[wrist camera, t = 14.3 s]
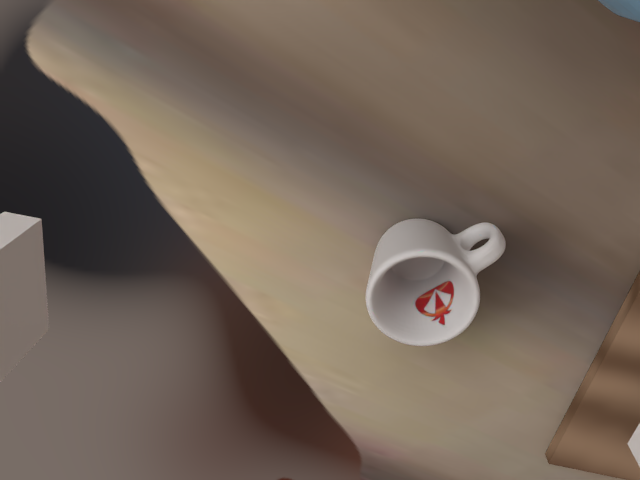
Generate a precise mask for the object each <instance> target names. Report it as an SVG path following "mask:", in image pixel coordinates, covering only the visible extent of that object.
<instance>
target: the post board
mask: <svg viewBox="0 0 640 480" xmlns="http://www.w3.org/2000/svg"><path fill="white" fill-rule="evenodd" d="M639 423H640V272H639V273H638V275H637V277H636V279H635V281H634V283H633V285H632V287H631V289H630V291H629V293H628V295H627V297H626V299H625V301H624V302H623V304H622V306H621V308H620V310H619V312H618V314H617V316H616V318H615V320H614V322H613V324H612V326H611V328H610V330H609V331H608V333H607V335H606V337H605V339H604V341H603V343H602V345H601V347H600V349H599V351H598V353H597V355H596V357H595V358H594V360H593V362H592V364H591V366H590V368H589V370H588V372H587V374H586V376H585V378H584V380H583V382H582V384H581V386H580V387H579V389H578V391H577V393H576V395H575V397H574V399H573V401H572V403H571V405H570V407H569V409H568V411H567V413H566V415H565V416H564V418H563V420H562V422H561V424H560V426H559V428H558V430H557V432H556V434H555V436H554V438H553V440H552V442H551V444H550V445H549V447H548V449H547V451H546V453H545V455H546V457H547V460H548V463H549V464H553V465H558V466H563V467H568V468H573V469H578V470H582V471H587V472H592V473H597V474H602V475H607V476H612V477H616V478H621V479H626V480H640V467H639V465H638V463H637V461H636V459H635V457H634V455H633V454H632V452H631V450H630V448H629V446H628V444H627V443H628V442H629V440H630V438H631V437H632V435H633V433H634V432H635V430H636V428H637V427H638V425H639Z"/></svg>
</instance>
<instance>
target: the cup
mask: <svg viewBox="0 0 640 480" xmlns="http://www.w3.org/2000/svg"><path fill="white" fill-rule="evenodd" d="M487 238H489V241H488V242H487V243H486V244H484V245H483V246H482V247H480V248H478V249H475V250H472V251H470V249H471V247H472V246H473V245H474V244H476V243H477V242H479V241H481V240H483V239H487ZM505 247H506V242H505V238H504V236H503V234H502V233H501V231H500V230H499V229H498V228H497V227H496V226H495V225H494V224H491V223H487V222H484V223H479V224H476V225H473V226H471V227H469V228H467V229H466V230H464V231H462V232H461V233H458V234H455V235H454V234H451V233H450V232H449V231H448V230H447V229H445V228H444V227H443V226H441V225H440V224H438V223H436V222H434V221H431V220H427V219H418V218H417V219H408V220H404V221H401V222H399V223H397V224H395V225H394V226H392V227H391V228H389V229H388V230H387V231H386V232H385V233H384V235H383V236H382V237H381V239H380V241H379V243H378V245H377V247H376V251H375V254H374V259H373V263H372V267H371V272H370V276H369V280H368V285H367V289H366V306H367V310H368V313H369V315H370V317H371V319H372V321H373V322H374V324H375V325H376V326H377V327H378V329H380V330H381V331H382V332H383V333H384V334H385V335H387V336H388V337H390V338H392V339H394V340H396V341H398V342H401V343H404V344H408V345H414V346H431V345H436V344H440V343H443V342H446V341H449V340H451V339H453V338H455V337H456V336H458V335H459V334H461V333H462V332H463V331H464V330H465V329H466V328H467V327H468V326H469V325H470V324H471V322H472V321H473V319H474V318H475V316H476V314H477V311H478V308H479V304H480V289H479V284H478V281H477V274H478V273H479V272H480V271H481V270H483V269H485V268H486V267H488V266H489V265H491V264H493V263H494V262H495V261H497V260H498V259H499V258H500V257H501V255H502V254H503V253H504V251H505Z"/></svg>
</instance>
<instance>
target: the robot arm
mask: <svg viewBox="0 0 640 480" xmlns="http://www.w3.org/2000/svg"><path fill="white" fill-rule="evenodd" d="M598 1H599V2H600V3H602V4H603V5H604V6H605V7H607V8H608V9H609V10H611V11H612V12H613V13H615V14H617V15H619V16H621V17H625V18H628V19H631V20H634V21H637V22H640V0H598ZM48 330H49V322H48V306H47V293H46V278H45V264H44V249H43V235H42V221H41V219H39V218H33V217H29V216H23V215H18V214H13V213H8V212H3V213H2V214H0V382H1V381H2V380H3V379H4V378H5V377H6V376H7V374H8V373H9V372H10V371H11V370H12V369H13V368H14V367H15V366H16V364H18V363H19V361H20V360H21V359H22V358H23V357H24V356H25V355H26V354H27V353H28V352H29V350H30V349H31V348H32V347H33V346H34V345H35V344H36V343H37V342H38V341H39V340H40V338H41V337H42V336H43V335H44V334H45V333H46V332H47V331H48ZM627 444H628V446H629V448H630V450H631V452H632V454H633V455H634V457H635V459H636V461H637V463H638V465H639V467H640V423H639V425H638V427H637V428H636V430H635V432H634V433H633V435H632V437H631V438H630V440H629V442H628V443H627Z"/></svg>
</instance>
